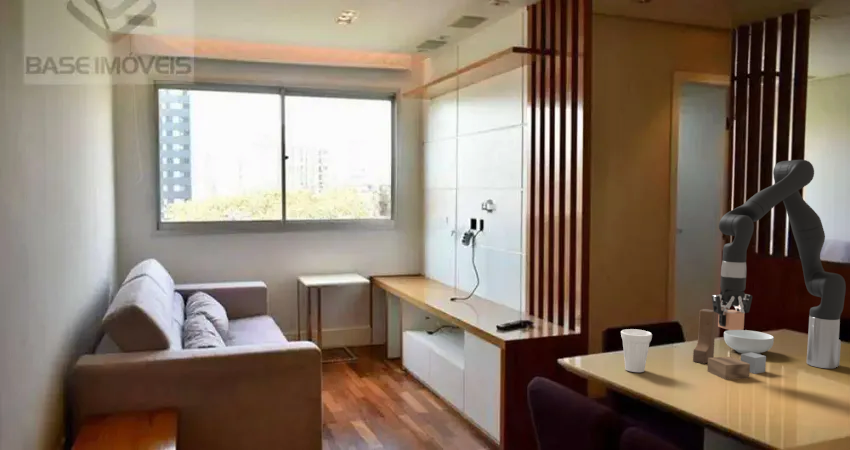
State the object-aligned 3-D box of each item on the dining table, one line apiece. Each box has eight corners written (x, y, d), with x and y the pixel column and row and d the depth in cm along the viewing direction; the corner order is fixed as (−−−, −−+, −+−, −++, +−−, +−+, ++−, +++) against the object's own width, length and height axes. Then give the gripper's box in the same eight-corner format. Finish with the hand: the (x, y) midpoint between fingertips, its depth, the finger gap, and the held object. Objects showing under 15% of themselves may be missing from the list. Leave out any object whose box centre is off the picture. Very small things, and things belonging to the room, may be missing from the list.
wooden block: (705, 364, 228) (708, 313, 227) (692, 361, 231) (695, 311, 230) (713, 359, 235) (716, 310, 234) (700, 356, 238) (703, 308, 237)
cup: (655, 371, 218) (657, 332, 218) (642, 377, 211) (644, 337, 210) (627, 364, 225) (629, 327, 224) (614, 370, 218) (615, 332, 217)
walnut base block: (730, 371, 221) (731, 356, 221) (749, 379, 213) (749, 364, 212) (707, 372, 219) (708, 357, 219) (725, 380, 211) (725, 365, 210)
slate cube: (750, 367, 225) (751, 352, 225) (765, 372, 220) (766, 356, 220) (740, 369, 223) (740, 354, 222) (754, 374, 218) (755, 357, 217)
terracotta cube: (732, 325, 218) (733, 309, 218) (743, 329, 213) (744, 313, 212) (717, 326, 217) (718, 310, 217) (728, 330, 212) (729, 313, 211)
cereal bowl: (774, 351, 249) (775, 333, 248) (770, 360, 235) (772, 341, 234) (726, 344, 258) (727, 327, 258) (720, 353, 244) (721, 334, 243)
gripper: (744, 273, 219) (741, 322, 220) (706, 273, 216) (704, 323, 217) (760, 276, 212) (757, 327, 213) (721, 277, 208) (719, 328, 210)
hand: (730, 325), depth 215 cm, fingers closed on terracotta cube, 5 cm apart
